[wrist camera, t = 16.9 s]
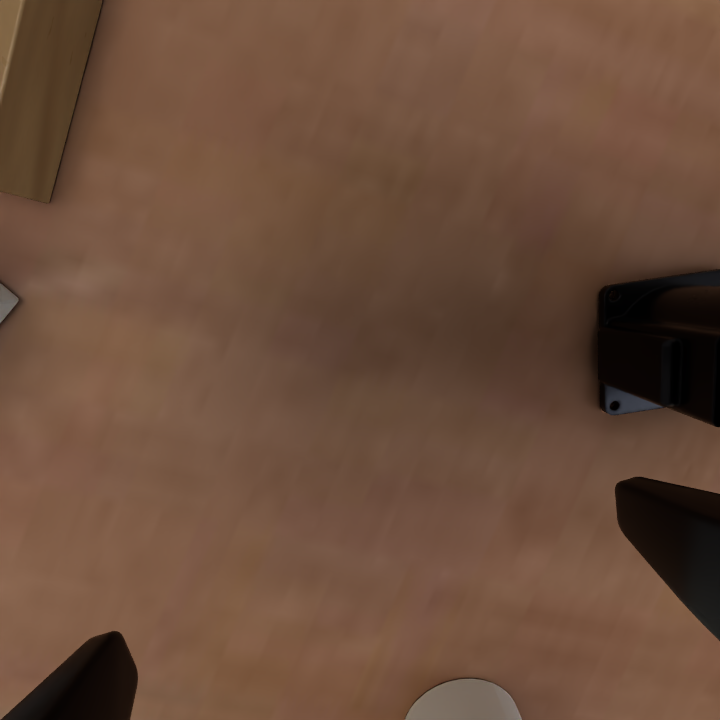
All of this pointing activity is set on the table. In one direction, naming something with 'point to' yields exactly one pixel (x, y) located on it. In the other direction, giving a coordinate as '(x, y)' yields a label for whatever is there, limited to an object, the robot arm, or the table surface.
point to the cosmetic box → (6, 301)
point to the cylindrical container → (465, 702)
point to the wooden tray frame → (39, 87)
